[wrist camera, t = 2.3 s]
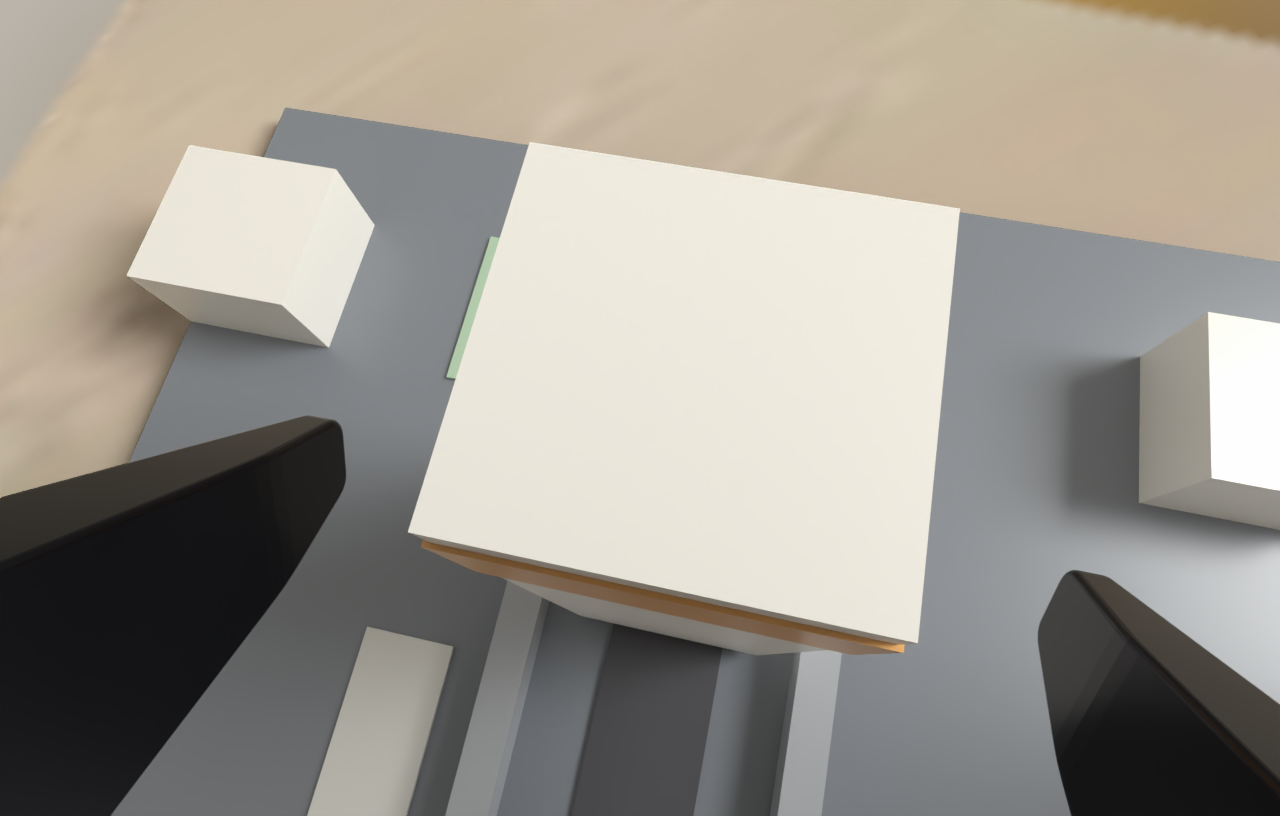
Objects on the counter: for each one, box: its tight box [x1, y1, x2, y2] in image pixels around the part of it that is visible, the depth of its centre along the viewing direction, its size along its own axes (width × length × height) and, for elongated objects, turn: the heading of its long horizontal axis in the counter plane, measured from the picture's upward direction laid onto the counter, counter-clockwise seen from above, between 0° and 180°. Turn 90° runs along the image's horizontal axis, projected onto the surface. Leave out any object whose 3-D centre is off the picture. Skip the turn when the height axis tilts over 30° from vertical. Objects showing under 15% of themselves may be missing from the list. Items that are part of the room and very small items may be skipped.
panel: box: [111, 108, 1280, 816], centre depth 16 cm, size 20×27×3 cm
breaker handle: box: [408, 142, 960, 655], centre depth 11 cm, size 4×4×11 cm
